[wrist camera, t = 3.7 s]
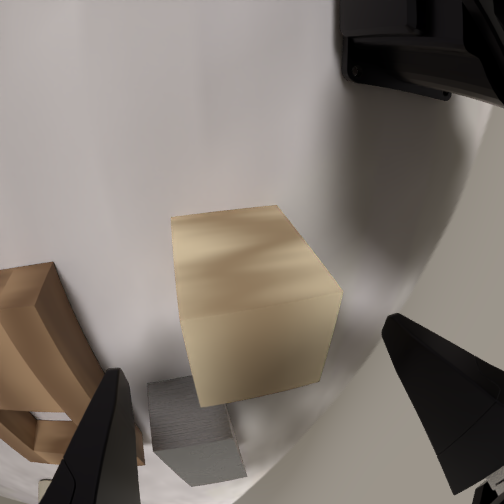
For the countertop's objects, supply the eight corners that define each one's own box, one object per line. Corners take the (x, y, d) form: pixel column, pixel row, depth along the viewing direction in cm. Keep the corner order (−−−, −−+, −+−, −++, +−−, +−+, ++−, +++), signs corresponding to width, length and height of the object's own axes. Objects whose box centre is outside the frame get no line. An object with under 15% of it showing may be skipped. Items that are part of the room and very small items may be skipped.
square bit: (276, 204, 13) (343, 291, 8) (272, 286, 16) (319, 381, 11) (170, 216, 12) (179, 320, 8) (183, 300, 15) (200, 407, 10)
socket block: (52, 261, 12) (34, 305, 9) (142, 433, 21) (145, 465, 18) (-82, 284, 9) (-103, 317, 7) (32, 433, 19) (30, 461, 16)
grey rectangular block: (215, 368, 18) (233, 438, 14) (232, 425, 23) (247, 476, 19) (147, 381, 18) (153, 451, 14) (181, 435, 23) (191, 486, 19)
